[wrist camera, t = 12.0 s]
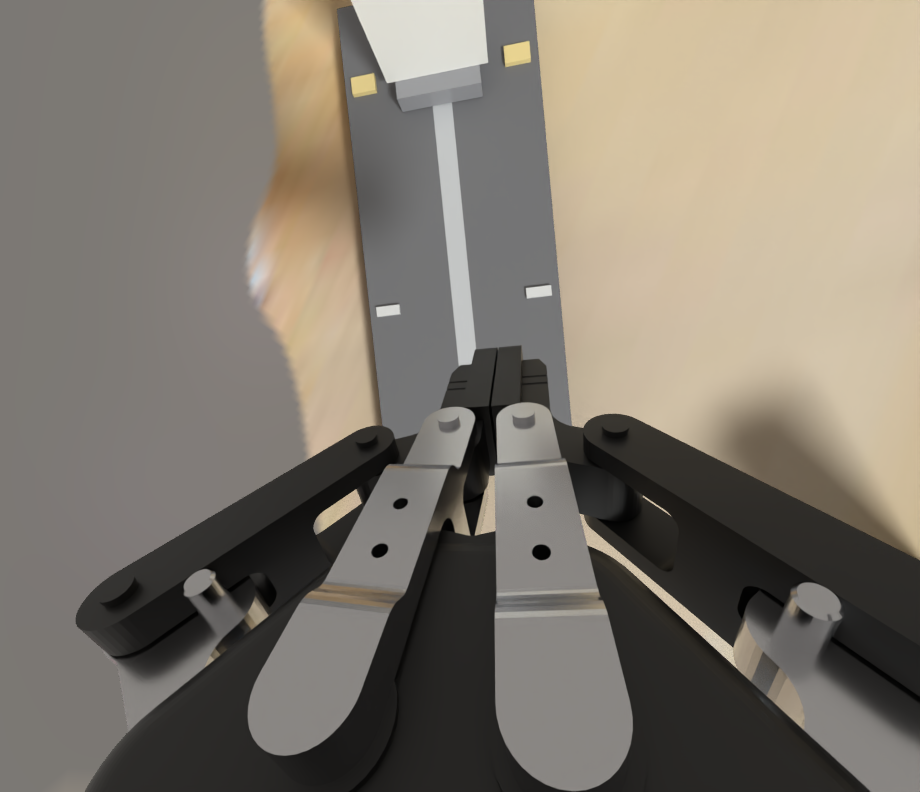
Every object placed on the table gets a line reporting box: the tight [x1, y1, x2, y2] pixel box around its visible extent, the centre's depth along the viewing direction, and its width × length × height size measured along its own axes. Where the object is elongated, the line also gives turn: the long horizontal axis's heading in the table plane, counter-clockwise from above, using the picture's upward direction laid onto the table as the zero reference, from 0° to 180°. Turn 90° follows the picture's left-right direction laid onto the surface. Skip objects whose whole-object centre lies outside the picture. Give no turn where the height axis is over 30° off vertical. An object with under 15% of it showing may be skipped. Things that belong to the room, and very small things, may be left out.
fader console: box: [337, 0, 572, 439], centre depth 26 cm, size 12×30×2 cm, turn 6°
